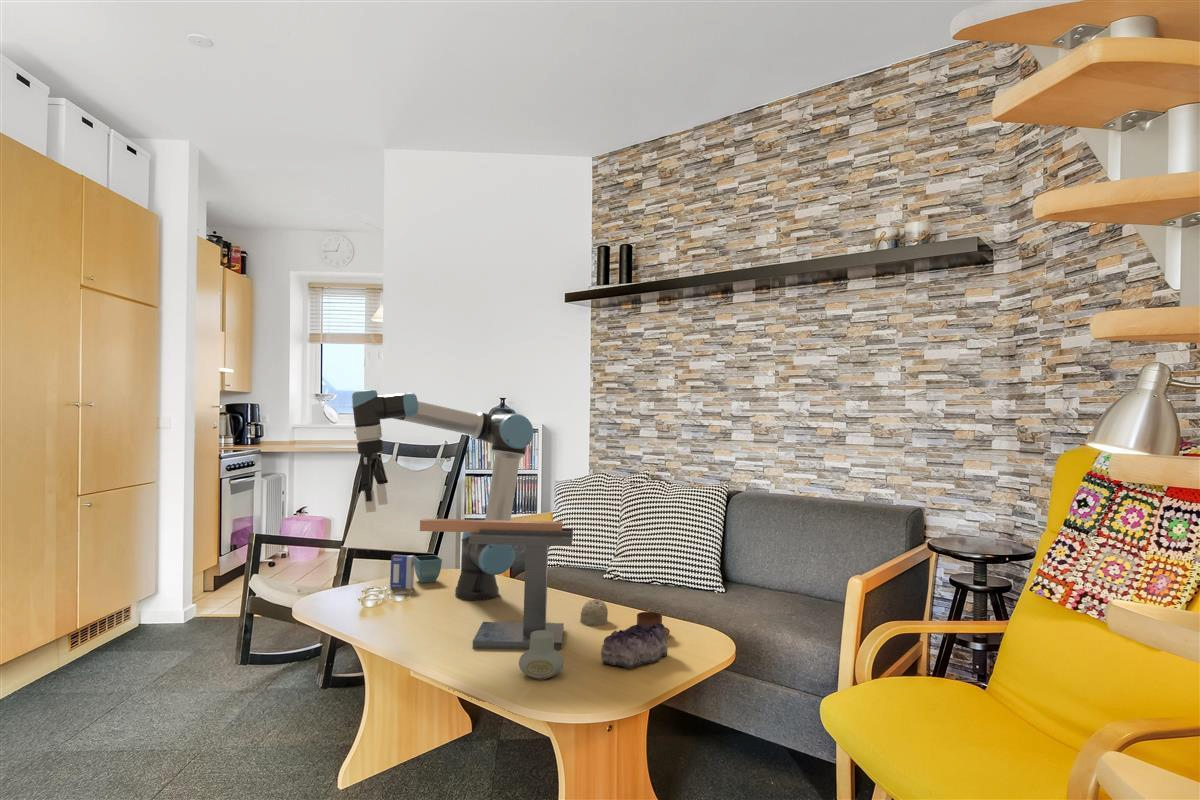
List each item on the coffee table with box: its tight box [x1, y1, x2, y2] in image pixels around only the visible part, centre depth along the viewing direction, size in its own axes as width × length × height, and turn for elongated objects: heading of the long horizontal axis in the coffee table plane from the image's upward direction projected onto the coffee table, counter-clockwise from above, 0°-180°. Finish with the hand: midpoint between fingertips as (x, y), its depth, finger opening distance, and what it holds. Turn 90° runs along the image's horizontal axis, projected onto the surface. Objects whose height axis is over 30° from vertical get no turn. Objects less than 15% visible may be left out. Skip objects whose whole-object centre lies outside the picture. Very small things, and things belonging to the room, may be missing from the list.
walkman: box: [389, 554, 416, 590], centre depth 248 cm, size 8×3×12 cm, turn 86°
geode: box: [600, 623, 668, 669], centre depth 178 cm, size 20×12×10 cm, turn 134°
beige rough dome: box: [579, 598, 609, 627], centre depth 211 cm, size 9×9×9 cm
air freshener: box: [518, 630, 565, 680], centre depth 165 cm, size 11×8×10 cm
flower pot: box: [414, 554, 443, 584], centre depth 259 cm, size 9×9×9 cm
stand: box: [469, 527, 574, 651], centre depth 193 cm, size 28×18×31 cm, turn 91°
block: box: [419, 517, 563, 533], centre depth 194 cm, size 40×4×3 cm, turn 91°
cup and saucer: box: [628, 611, 671, 637], centre depth 198 cm, size 12×12×6 cm
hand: (377, 508), depth 210 cm, fingers open, 13 cm apart
